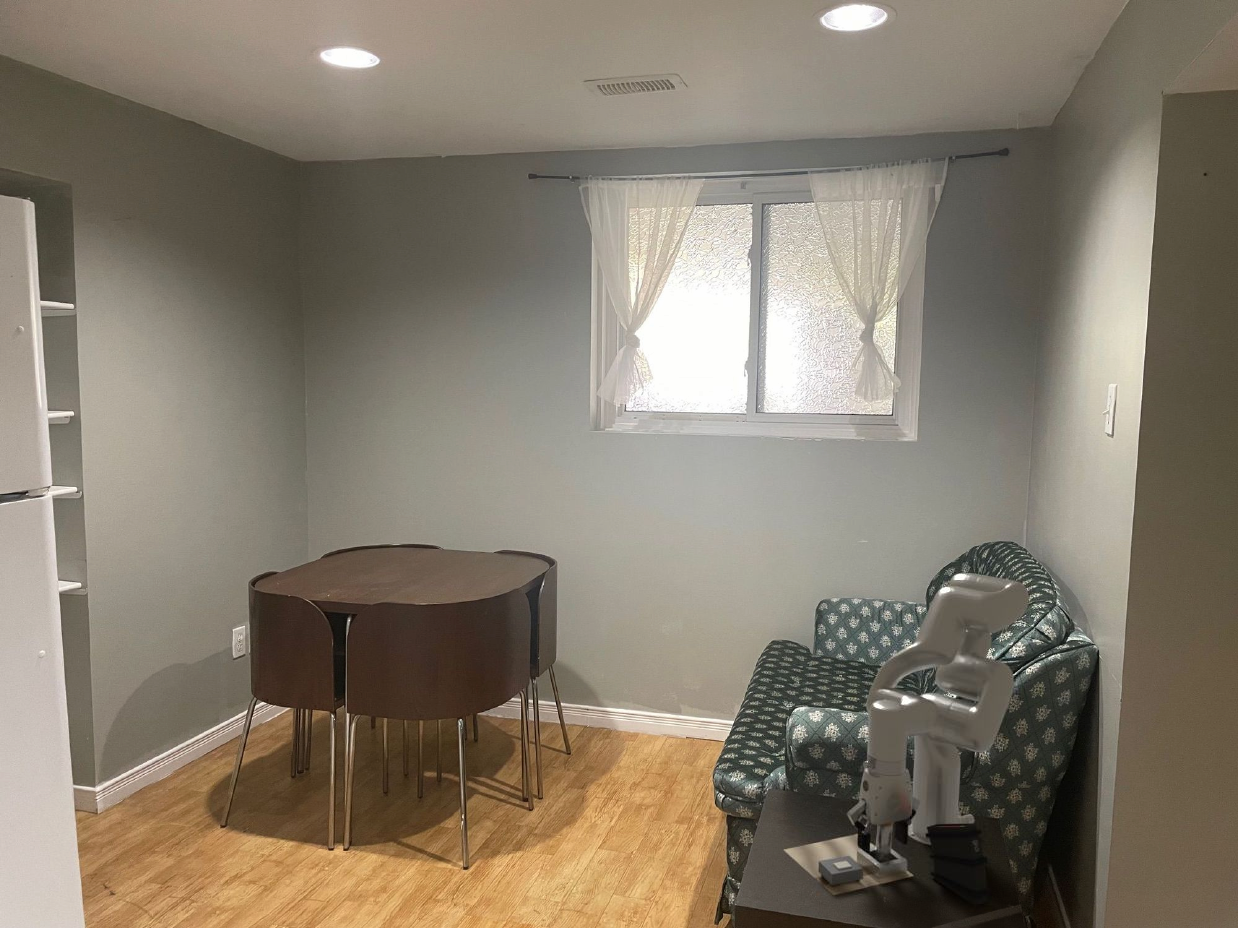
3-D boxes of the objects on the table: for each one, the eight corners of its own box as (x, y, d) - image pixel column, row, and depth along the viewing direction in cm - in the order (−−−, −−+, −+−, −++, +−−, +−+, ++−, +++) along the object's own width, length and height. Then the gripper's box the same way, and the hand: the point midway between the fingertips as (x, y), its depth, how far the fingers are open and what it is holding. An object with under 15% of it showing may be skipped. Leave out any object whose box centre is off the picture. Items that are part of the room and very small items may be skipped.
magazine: (987, 911, 175) (964, 826, 180) (938, 907, 186) (917, 827, 191) (1002, 906, 177) (978, 822, 181) (952, 902, 188) (931, 823, 192)
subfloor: (858, 837, 205) (858, 833, 205) (913, 880, 189) (913, 875, 188) (783, 854, 198) (783, 849, 198) (833, 899, 181) (833, 894, 181)
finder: (848, 869, 190) (849, 853, 190) (862, 882, 186) (863, 866, 185) (818, 875, 188) (818, 859, 188) (831, 888, 183) (832, 872, 183)
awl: (883, 859, 194) (888, 800, 192) (895, 869, 191) (900, 809, 189) (868, 863, 193) (873, 803, 191) (879, 873, 189) (885, 812, 187)
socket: (884, 855, 196) (885, 843, 196) (906, 872, 190) (907, 860, 189) (856, 861, 193) (857, 850, 193) (878, 879, 187) (878, 867, 187)
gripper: (861, 777, 182) (858, 862, 184) (933, 764, 189) (929, 846, 191) (838, 762, 189) (835, 844, 191) (909, 749, 196) (905, 829, 198)
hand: (882, 845), depth 191 cm, fingers open, 8 cm apart
